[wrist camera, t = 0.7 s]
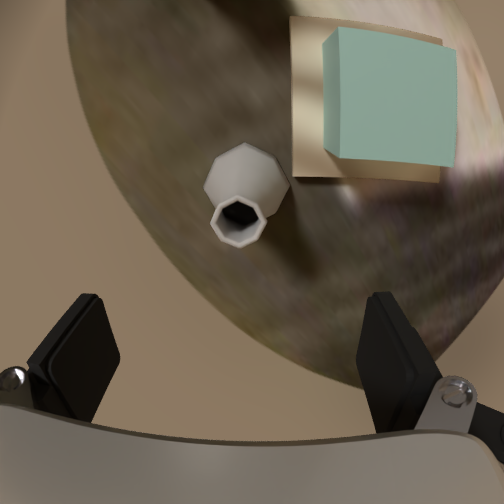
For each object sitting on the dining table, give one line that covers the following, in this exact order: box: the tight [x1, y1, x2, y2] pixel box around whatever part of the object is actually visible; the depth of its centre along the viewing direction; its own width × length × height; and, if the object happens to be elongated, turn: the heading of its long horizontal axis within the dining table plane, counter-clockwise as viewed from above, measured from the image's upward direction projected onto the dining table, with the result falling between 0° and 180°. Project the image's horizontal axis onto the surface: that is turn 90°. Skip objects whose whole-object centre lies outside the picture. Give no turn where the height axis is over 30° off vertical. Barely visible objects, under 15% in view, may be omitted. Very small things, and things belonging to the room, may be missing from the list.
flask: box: [203, 142, 290, 249], centre depth 23 cm, size 7×7×10 cm
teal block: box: [322, 27, 457, 168], centre depth 20 cm, size 9×9×6 cm
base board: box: [289, 16, 443, 183], centre depth 24 cm, size 14×14×1 cm
